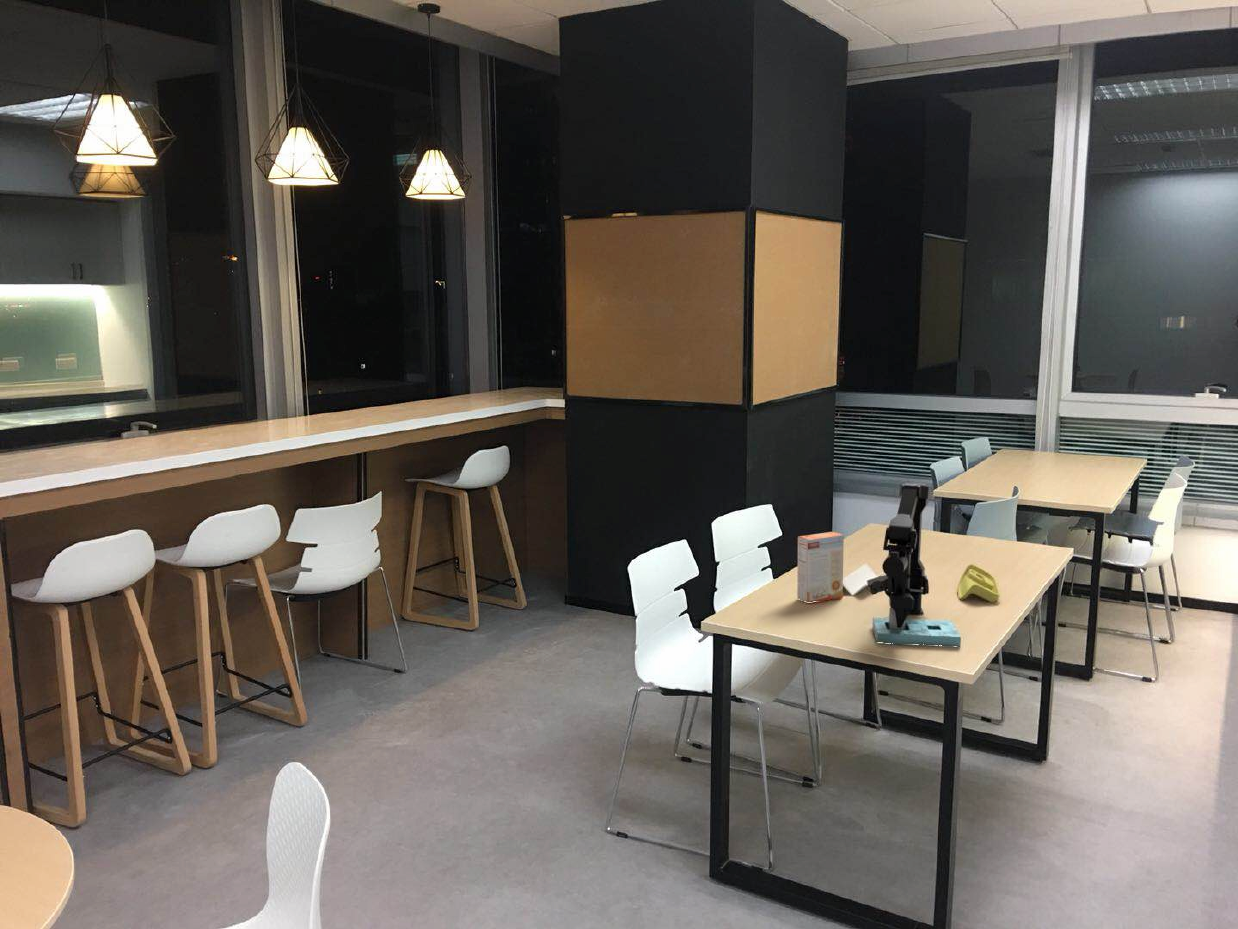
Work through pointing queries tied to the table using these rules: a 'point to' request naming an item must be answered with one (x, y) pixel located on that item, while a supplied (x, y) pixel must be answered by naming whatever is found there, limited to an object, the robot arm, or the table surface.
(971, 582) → the plastic component
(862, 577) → the z bracket
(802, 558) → the cracker box
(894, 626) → the grey cylinder
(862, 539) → the table surface
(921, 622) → the plate
